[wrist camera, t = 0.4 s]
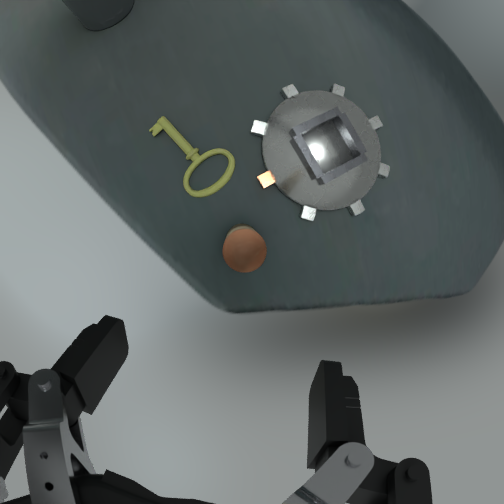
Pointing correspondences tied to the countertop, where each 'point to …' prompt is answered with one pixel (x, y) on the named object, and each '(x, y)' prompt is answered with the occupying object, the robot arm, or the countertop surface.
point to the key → (195, 158)
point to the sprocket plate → (320, 150)
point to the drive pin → (244, 248)
